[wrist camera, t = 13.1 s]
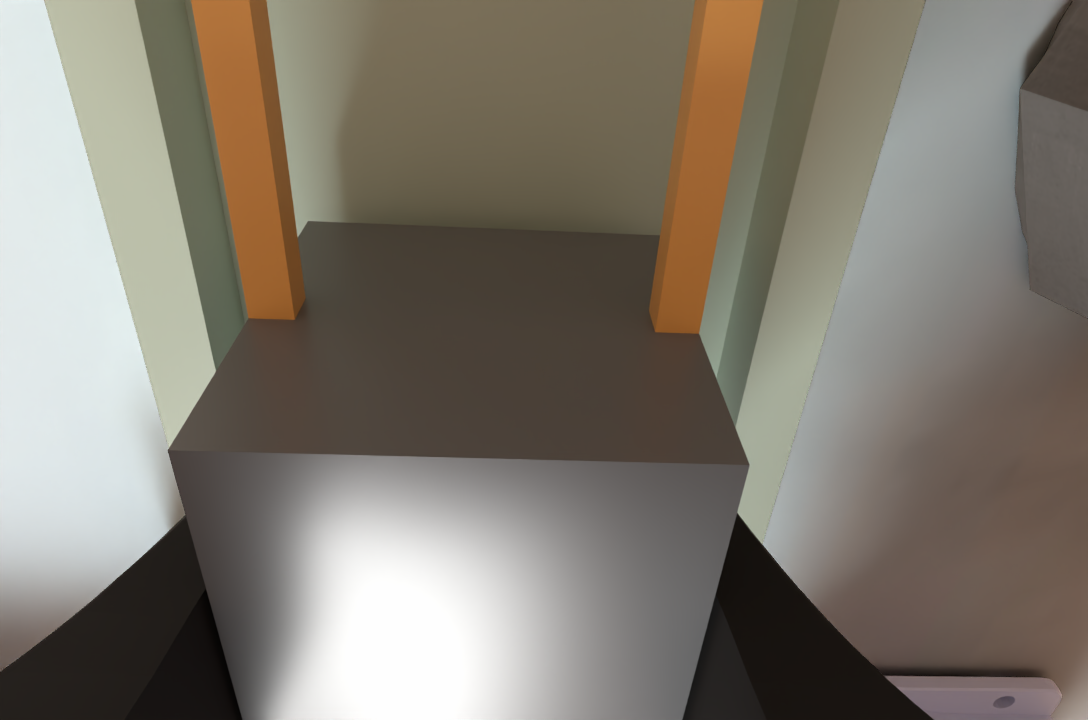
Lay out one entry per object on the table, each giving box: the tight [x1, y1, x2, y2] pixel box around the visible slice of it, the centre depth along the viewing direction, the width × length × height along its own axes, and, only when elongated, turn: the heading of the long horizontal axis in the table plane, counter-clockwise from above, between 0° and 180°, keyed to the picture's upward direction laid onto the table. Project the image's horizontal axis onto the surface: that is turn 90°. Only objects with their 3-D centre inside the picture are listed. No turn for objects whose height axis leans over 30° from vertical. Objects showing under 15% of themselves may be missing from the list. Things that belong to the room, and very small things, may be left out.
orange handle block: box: [168, 0, 764, 720], centre depth 9 cm, size 5×12×5 cm, turn 177°
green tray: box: [44, 0, 926, 544], centre depth 12 cm, size 10×17×2 cm, turn 177°
